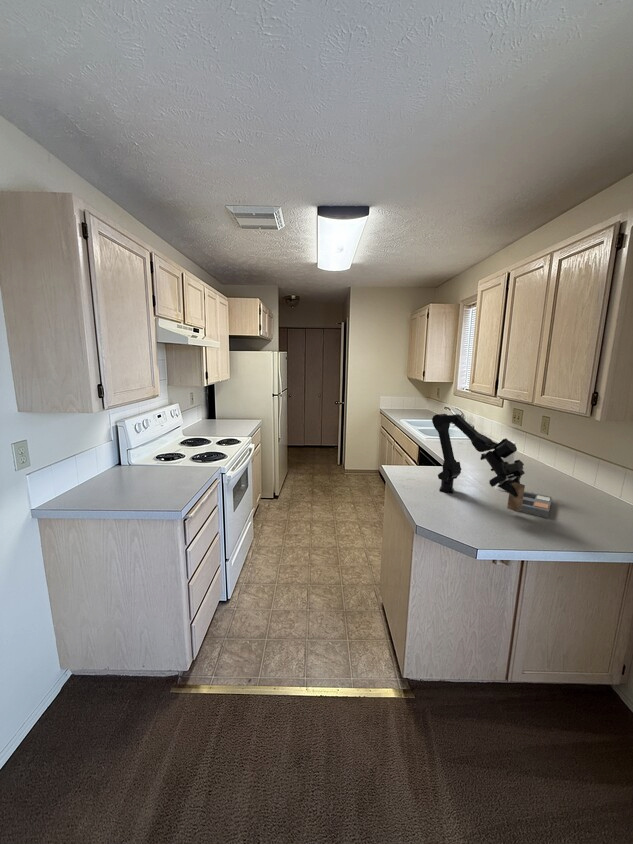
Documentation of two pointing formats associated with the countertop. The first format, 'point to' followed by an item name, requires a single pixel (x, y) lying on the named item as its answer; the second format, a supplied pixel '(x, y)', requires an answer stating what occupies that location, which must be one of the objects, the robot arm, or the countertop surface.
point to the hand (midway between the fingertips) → (519, 495)
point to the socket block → (536, 504)
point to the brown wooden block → (513, 501)
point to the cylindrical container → (510, 460)
